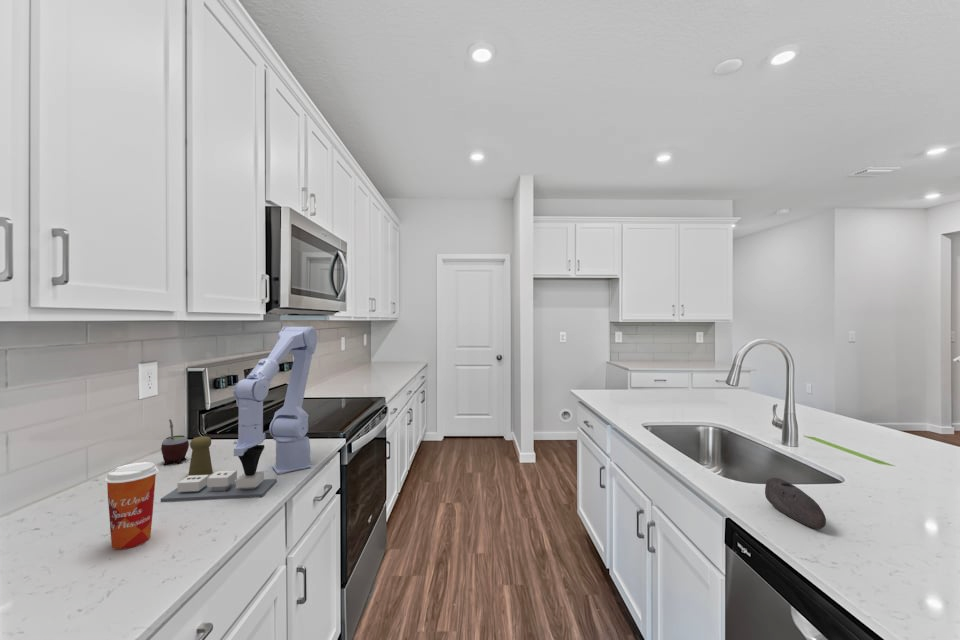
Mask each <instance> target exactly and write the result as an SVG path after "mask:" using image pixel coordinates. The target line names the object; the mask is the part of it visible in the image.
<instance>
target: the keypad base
mask: <svg viewBox="0 0 960 640" xmlns="http://www.w3.org/2000/svg"><path fill="white" fill-rule="evenodd" d="M277 482H278V478H270V479H267V478H266V479H265V478H264V480H263V481H262V482H261V483H260V484H259V485H258V486H257V487H248V488H236V480H235V481H234V482H232V483H231V484H230V485H229V486H224V487H207V485H206V486H205V487H203V488H202V489H201V490H199V491H186V492H178V487H176V488H175V489H173V490H172V491H170V492H169V493H167V494H166V495H164V496H163V497H161V498H160V503H165V502H166V503H167V502H186V501H187V502H188V501H209V500H210V501H211V500H228V499H246V498H247V499H248V498H251V499H252V498H262V497H264V496H265V495H266V494H267V493H268V492H269V491H270V490H271V489H272V488H273V487H274V486H275V484H276V483H277Z"/></svg>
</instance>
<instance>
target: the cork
mask: <svg viewBox="0 0 960 640" xmlns="http://www.w3.org/2000/svg"><path fill="white" fill-rule="evenodd" d="M211 445H212V438H211V437H210V436H206V435H204V436H201V435H200V436H196V437H194V438H193V439H191V440H190V443H189V447H190V449H191V450H192V451H191V454H190V455H191V457H190V462H189V468H188V469H189V470H188V475H187V477H188V476H192V475H209V476H211V475H213V474H214V473H213V472H214V471H213V465H212V458H211V452H210V446H211Z"/></svg>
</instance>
